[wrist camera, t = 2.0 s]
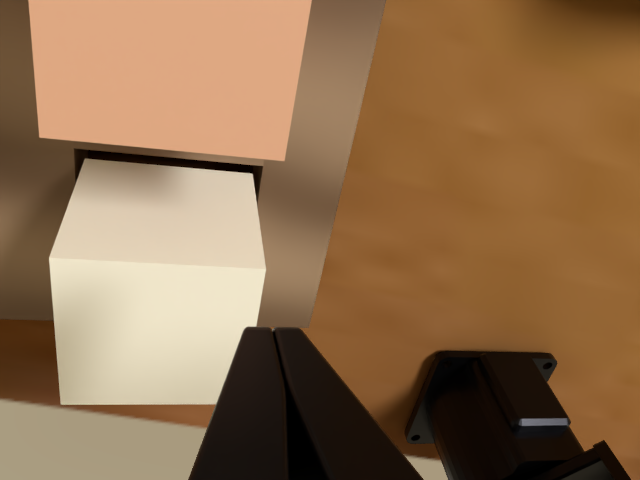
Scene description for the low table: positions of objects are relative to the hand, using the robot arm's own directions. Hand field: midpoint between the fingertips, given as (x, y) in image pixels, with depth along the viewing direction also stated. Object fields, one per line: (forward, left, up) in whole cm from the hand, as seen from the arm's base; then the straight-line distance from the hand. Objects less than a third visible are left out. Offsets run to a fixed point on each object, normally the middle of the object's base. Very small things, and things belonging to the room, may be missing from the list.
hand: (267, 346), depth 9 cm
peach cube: (+3, +2, -10) cm, 11 cm away
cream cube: (-5, +2, -10) cm, 11 cm away
